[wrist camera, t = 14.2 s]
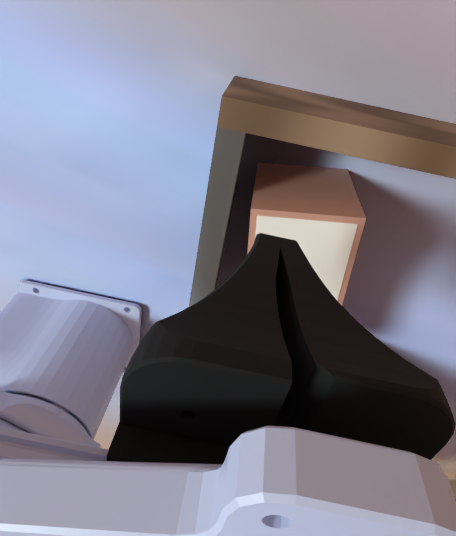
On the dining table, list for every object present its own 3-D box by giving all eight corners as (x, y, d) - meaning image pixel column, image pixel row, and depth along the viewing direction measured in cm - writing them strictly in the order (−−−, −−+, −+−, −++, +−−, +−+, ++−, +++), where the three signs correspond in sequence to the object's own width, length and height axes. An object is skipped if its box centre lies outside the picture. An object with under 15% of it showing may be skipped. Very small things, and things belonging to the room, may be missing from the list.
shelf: (198, 291, 27) (183, 341, 23) (234, 75, 19) (221, 95, 15) (426, 339, 27) (451, 398, 23) (563, 147, 19) (638, 187, 15)
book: (246, 296, 27) (238, 361, 22) (258, 161, 22) (250, 209, 17) (316, 303, 27) (324, 371, 22) (347, 168, 21) (366, 218, 16)
